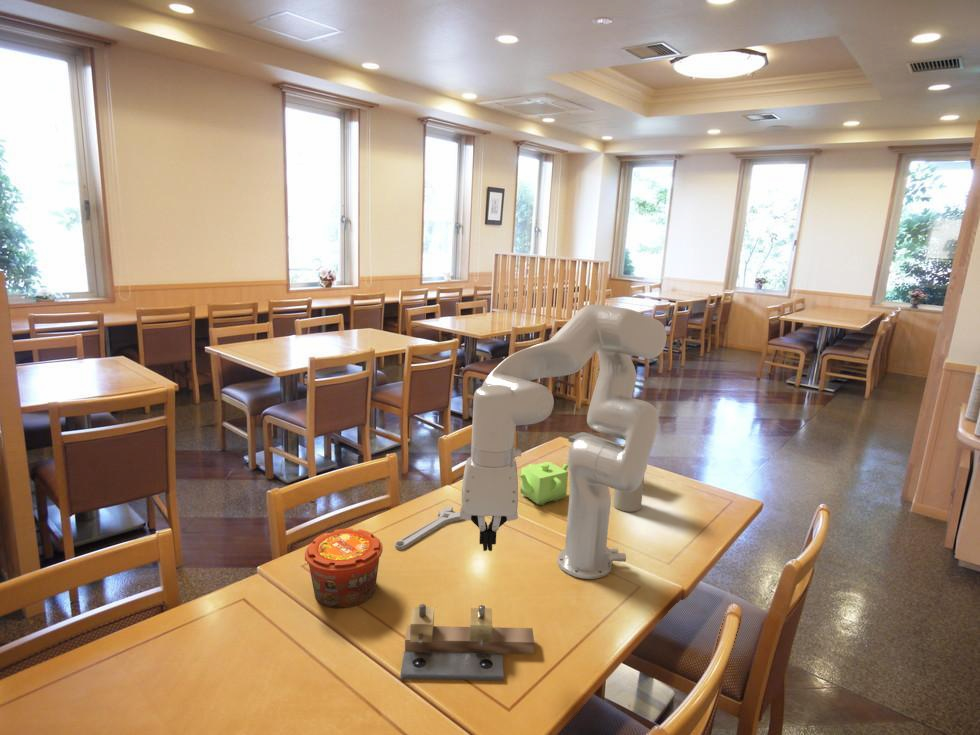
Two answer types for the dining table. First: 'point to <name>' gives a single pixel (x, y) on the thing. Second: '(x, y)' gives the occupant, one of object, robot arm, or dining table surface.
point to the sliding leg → (481, 625)
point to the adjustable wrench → (429, 527)
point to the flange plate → (452, 666)
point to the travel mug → (628, 498)
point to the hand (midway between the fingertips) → (487, 547)
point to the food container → (344, 567)
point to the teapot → (544, 482)
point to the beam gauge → (462, 637)
